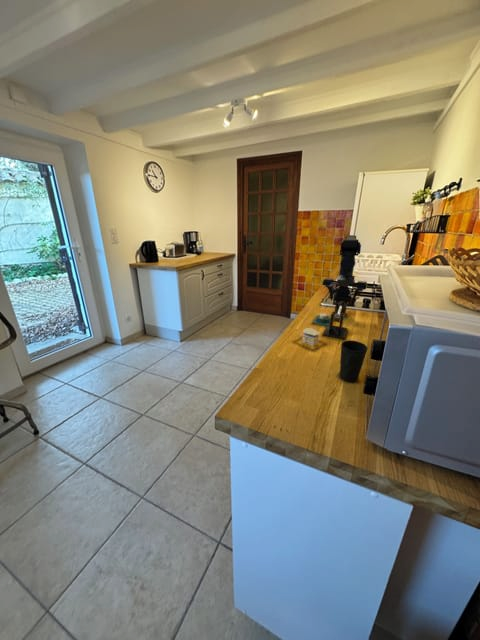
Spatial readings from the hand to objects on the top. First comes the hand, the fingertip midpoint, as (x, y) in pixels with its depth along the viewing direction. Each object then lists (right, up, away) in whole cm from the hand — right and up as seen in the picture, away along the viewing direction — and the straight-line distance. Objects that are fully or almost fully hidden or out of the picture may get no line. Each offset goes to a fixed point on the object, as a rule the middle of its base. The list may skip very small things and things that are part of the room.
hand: (341, 301), depth 120 cm
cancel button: (-6, -8, +9) cm, 13 cm away
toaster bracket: (-4, -15, -2) cm, 16 cm away
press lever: (-2, -6, -1) cm, 6 cm away
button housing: (-6, -10, +10) cm, 15 cm away
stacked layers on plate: (-18, -19, -11) cm, 28 cm away
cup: (-12, -28, -34) cm, 46 cm away
